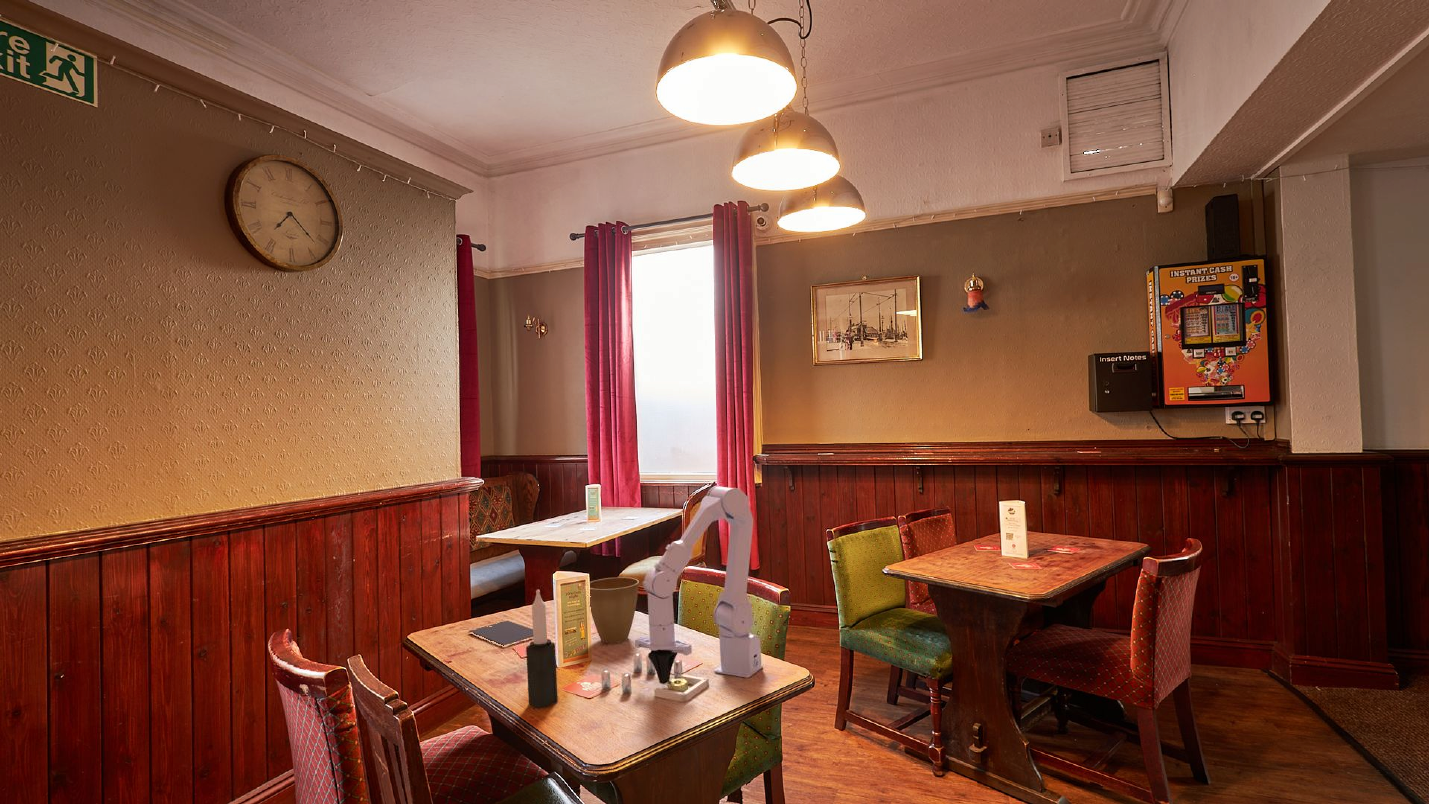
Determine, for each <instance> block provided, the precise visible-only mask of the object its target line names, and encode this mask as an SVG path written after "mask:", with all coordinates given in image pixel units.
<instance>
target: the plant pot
mask: <svg viewBox="0 0 1429 804" xmlns="http://www.w3.org/2000/svg"><path fill="white" fill-rule="evenodd" d="M639 582H640V581H639V580H638V579H636V578H632V577H607V578H602V579H601V578H600V579H597V580H596V579H595V580H592V581H590V595H591V597H590V606H589V608H590V607H591V610H590V613H591V617H592V621H593V623H594V626H595V629H596V631H597V635H598V637H599V639H600V641H601V642H602V643H603V644H609V645H611V644H619V643H620V644H621V643H623V642H625V641H627V640H628V638H629V635H630V632H631V629H632V625H633V622H634V621H633V620H634V617H635V614H636V613H635V612H636V609H637V602H638V593H639V584H640V583H639Z"/></svg>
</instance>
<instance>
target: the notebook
mask: <svg viewBox="0 0 1429 804" xmlns="http://www.w3.org/2000/svg"><path fill="white" fill-rule="evenodd" d="M496 623H497V624H496ZM496 623H493V624H489V625H485V626H482V627H477V628H475V629H476V630H473V629H470V630H468V633H469V632H473V633H474V634H476V635H479V636H482V637H484V638H486V639H488V640H490V641H494V642H496V643H498V644H501V645H503V646H504V645H507V644H512V643H514V642H517V641H521V640H524V639H527V638H531V637H533V628H531V627H528V626H525V625H522V624H519V623H517V622H513V621H510V620H504V621H500V622H496ZM487 626H488V627H487ZM489 626H492V627H489Z"/></svg>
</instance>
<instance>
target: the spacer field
mask: <svg viewBox="0 0 1429 804" xmlns="http://www.w3.org/2000/svg"><path fill="white" fill-rule="evenodd" d="M632 658H633V672H634V673H641V672H642V671H643V663H642V662H643V661H642V653H641V652H636V653H634V654H633V657H632ZM645 658H646V674H647V675H648V676H651V675H655V674H656V670H655V667H654V665H653V663H652V662H651V660H650V659H649V657H648V655H646V657H645ZM683 672H684V671H683V660H682V659H675V660H674V662H673V679H677V675H678V674H683ZM600 674H601V675H600V676H601V690H602V691H610V690H611V689H612V687H611V686H612V685H611V684H612V683H611V671H610V669H604V670H601V671H600ZM683 675H684V674H683ZM631 676H632V675H631V673H623V674H621V689H622V695H626V696H627V695H630V694H632V677H631Z"/></svg>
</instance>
